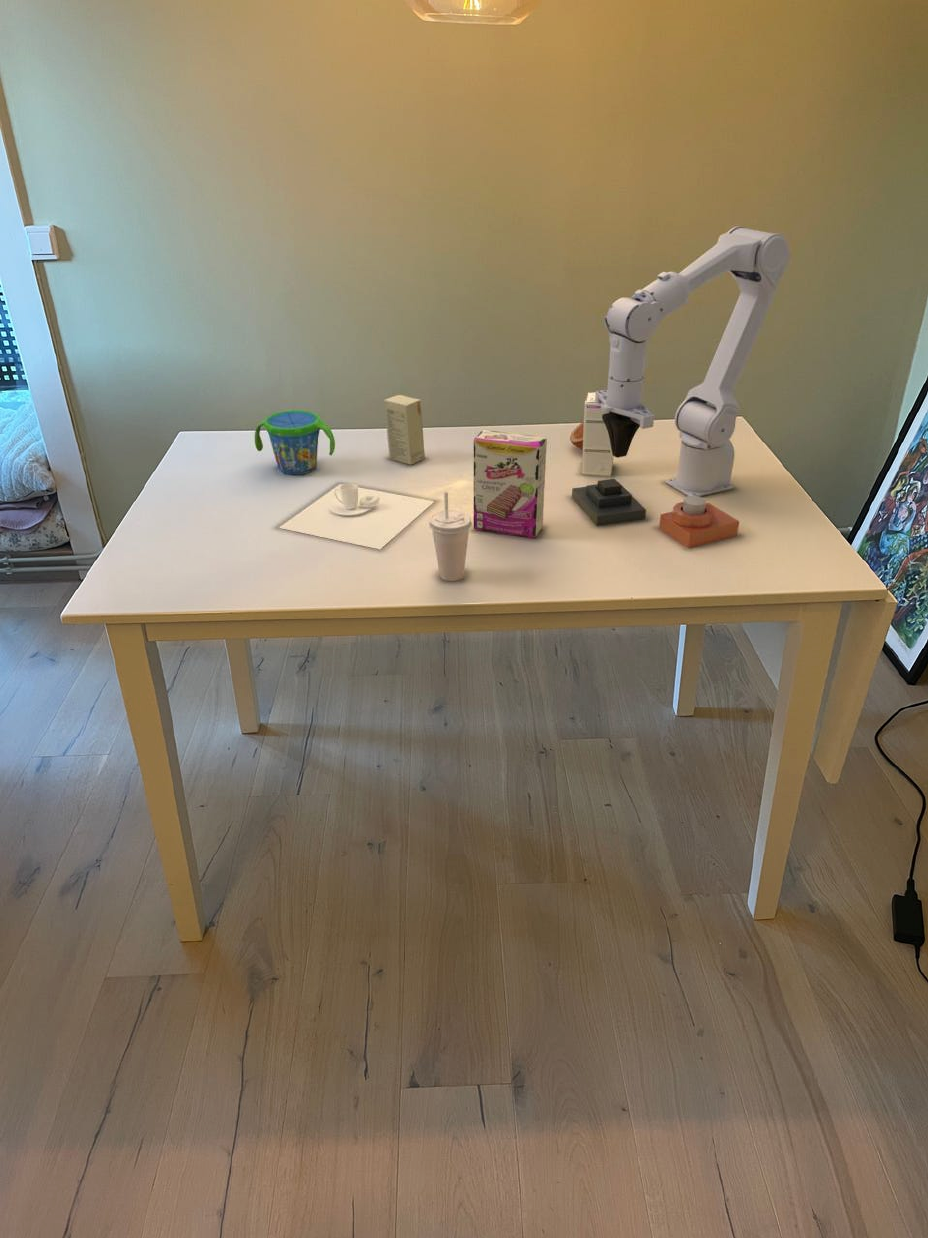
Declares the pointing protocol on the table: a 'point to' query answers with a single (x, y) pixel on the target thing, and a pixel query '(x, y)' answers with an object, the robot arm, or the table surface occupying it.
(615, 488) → the dark top block
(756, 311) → the robot arm
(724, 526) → the orange knob plate
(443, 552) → the smoothie
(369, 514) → the teacup and saucer
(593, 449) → the syrup box
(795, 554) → the table surface
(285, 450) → the snack cup
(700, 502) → the gray push button
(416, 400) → the cosmetic box
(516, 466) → the candy bar box
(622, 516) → the dark gray socket plate
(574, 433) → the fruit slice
